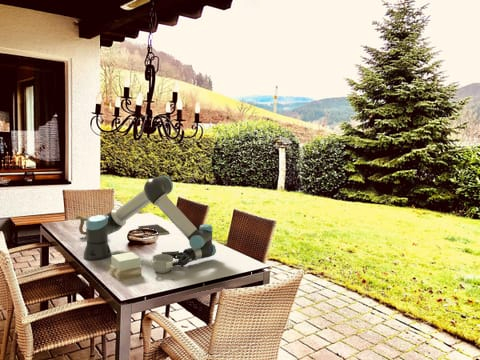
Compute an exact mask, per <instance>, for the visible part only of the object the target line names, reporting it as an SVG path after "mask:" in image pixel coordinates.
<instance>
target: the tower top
mask: <svg viewBox="0 0 480 360" xmlns="http://www.w3.org/2000/svg"><path fill="white" fill-rule="evenodd" d="M111 265H113V266H114V267H115V268H116V269H118V270H119V271H122V270H127V269H132V268H137V267H140V266H141V257H140V256H139V255H137V254H135V253H133V251H130V252H124V253H123V252H122V253H118V254H117V253H116V254H111Z"/></svg>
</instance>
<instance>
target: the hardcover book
mask: <svg viewBox="0 0 480 360" xmlns="http://www.w3.org/2000/svg"><path fill="white" fill-rule="evenodd" d="M137 227H138V229H139V228H140V229H143V228H149V229H154V230H157V232H158V234H159V235H158V236H160V235H169V234H170V231H169V230H167V229H165V228H164V227H163V226H160V225H159V224H158V223H157V224H156V223H155V224H148V225H138V226H137ZM140 229H139V230H140Z"/></svg>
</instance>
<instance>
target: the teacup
mask: <svg viewBox="0 0 480 360" xmlns="http://www.w3.org/2000/svg"><path fill="white" fill-rule="evenodd" d="M172 261H174V258H173V257H172V256H171V255H167V254H162V253H158V254H154V255H152V262H151V263H150V264H151V268H152V269H153V270H154V271H155V272H156V273H159V274H166V273H168V272H170V271H171V270H172V269H173V267H170V268H166V263H168V262H172Z"/></svg>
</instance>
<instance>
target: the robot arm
mask: <svg viewBox="0 0 480 360" xmlns="http://www.w3.org/2000/svg"><path fill="white" fill-rule="evenodd" d="M173 188H174V183H173V181H172V180H171V178H170V177H168V176H167V175H159V176H157V177H151V178H149V179H148V180H147V181H145V184H144V187H143V190H141V191H140V192H139V193H138V194H136V195H134V196H133V197H132V198H131V199H130V200H128V201H127V202H126V203H124V204H123V205H121V206H120V207H119V208H118V209H116V208H113V209H112V210H111V211H109V212H108V213H107V214H105V215H103V214H97V215H93V216H92V215H91V216H89V217H90V218H89V217H87V218H88V219H87V221H86V222H87V224H86V223H85V227H86V229H87V239H86V246H85V248H84V251H83V258H84V259H85V260H88V259H89V260H90V261H100V260H106V259H108V258H110V257H112V250H111V248H110V245H109V237H108V236H109V235H110V234H114V233H116V232H118V231H119V230H121V229H122V228H123V227H124V226H125V225H126V224H127V220H129V219H130V218H132V217H133V216H134V215H136V214H137V213H138V212H140V211H141V210H142V209H144V208H145V207H147V206H148V205H149V204H152V205H153V206H154V207H155V206H156V207H158V209H160V211H161V212H162V213H163V214H164V215H165V216H166V217H167V219H169V220H170V221H171V222H172V224H173V225H174V226H175V227H176V228H177V229H178V230H179V231H180V232H181V233H182V234H183V236H185V237H186V239H188V241H189V242H188V244H189V246H190V247H189V248H184V250H183V251H181V252H180V251H179V250H175V251H162V252H161V254H167V255H171V256H172V257H173V261H172V262H168V263H166V268H170V267H172V268H174V267H179V266H180V267H184V266H186V265H187V264H189V263H191V262H194V261H199V260H202V259H208V258H210V257H212V256H213V257H214V256H215V254H216V253H217V249H216V246H215V244H213V233H214V232H213V225H211V224H207V223H205V224H200V226H199V229H198V228H197V227H196V226H195V225H194V224H193V223H192V221H190V220H189V218H187V216H186V215H185V214H184V213H183V211H181V210H180V208H178V206H177V205H176V204H174V202H173V201H172V200H171V199H170V198H169V196H168V195H169V194H170V193H171V192H172V191H173ZM89 260H88V261H89Z"/></svg>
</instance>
